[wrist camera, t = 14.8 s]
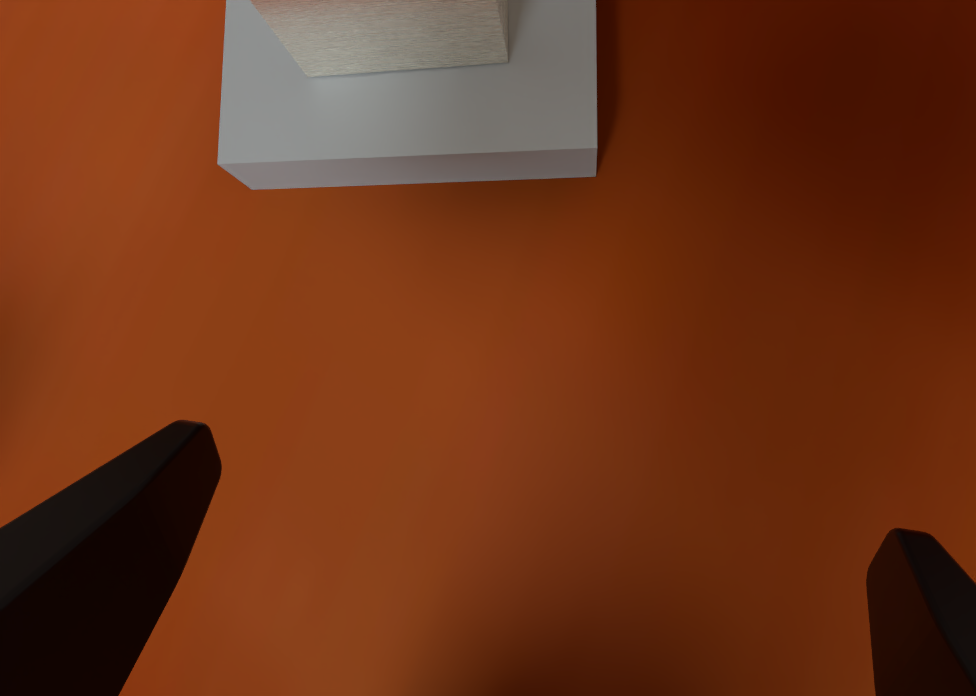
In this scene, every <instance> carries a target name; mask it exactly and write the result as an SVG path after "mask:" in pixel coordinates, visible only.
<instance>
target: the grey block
mask: <svg viewBox="0 0 976 696" xmlns="http://www.w3.org/2000/svg"><path fill="white" fill-rule="evenodd" d="M218 165H219V166H221V167H222V168H223V169H225V170H226V171H227V172H229V173H230V174H232V175H233V176H234V177H236V178H237V179H238V180H240V181H241V182H242V183H244V184H245V185H246V186H248V187H249V188H251V189H252V190H257V189H283V188H310V187H336V186H363V185H389V184H416V183H443V182H469V181H496V180H522V179H549V178H575V177H596V166H597V63H596V0H508V63H495V64H482V65H468V66H454V67H440V68H426V69H413V70H399V71H385V72H371V73H358V74H344V75H330V76H316V77H307V75H306V74H305V73H304V71H303V70H302V69H301V67H300V66H299V65H298V63H297V62H296V61H295V60H294V58H293V57H292V56H291V54H290V53H289V52H288V50H287V49H286V48H285V46H284V45H283V44H282V42H281V41H280V40H279V38H278V37H277V36H276V34H275V33H274V32H273V30H272V29H271V28H270V26H269V25H268V24H267V22H266V21H265V20H264V18H263V17H262V16H261V14H260V13H259V12H258V10H257V9H256V8H255V6H254V5H253V4H252V2H251V1H250V0H226V17H225V36H224V54H223V72H222V91H221V109H220V127H219V146H218Z"/></svg>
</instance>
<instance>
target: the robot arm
mask: <svg viewBox="0 0 976 696" xmlns="http://www.w3.org/2000/svg"><path fill="white" fill-rule="evenodd" d="M221 470H222V466H221V460H220V457H219V454H218V451H217V448H216V444H215V441H214V438H213V435H212V432H211V430H210V428H209V427H208V426H207V425H206V424H205V423H201V422H195V421H188V420H178V421H175V422H173V423H171V424H169V425H168V426H166V427H164V428H163V429H161V430H159V431H158V432H156V433H155V434H153V435H151V436H150V437H148V438H146V439H145V440H143V441H141V442H140V443H138V444H137V445H135V446H133V447H132V448H130V449H128V450H127V451H125V452H124V453H122V454H120V455H119V456H117V457H115V458H114V459H112V460H110V461H109V462H107V463H106V464H104V465H102V466H101V467H99V468H97V469H96V470H94V471H93V472H91V473H89V474H88V475H86V476H84V477H83V478H81V479H80V480H78V481H76V482H75V483H73V484H71V485H70V486H68V487H66V488H65V489H63V490H62V491H60V492H58V493H57V494H55V495H53V496H52V497H50V498H49V499H47V500H45V501H44V502H42V503H40V504H39V505H37V506H35V507H34V508H32V509H31V510H29V511H27V512H26V513H24V514H22V515H21V516H19V517H18V518H16V519H14V520H13V521H11V522H9V523H8V524H6V525H4V526H3V527H1V528H0V696H118V695H119V694H120V692H121V690H122V688H123V686H124V684H125V682H126V680H127V678H128V676H129V675H130V673H131V671H132V669H133V667H134V665H135V663H136V661H137V659H138V657H139V656H140V654H141V652H142V650H143V648H144V646H145V644H146V642H147V640H148V638H149V636H150V635H151V633H152V631H153V629H154V627H155V625H156V623H157V621H158V619H159V617H160V616H161V614H162V612H163V610H164V608H165V606H166V604H167V602H168V600H169V598H170V596H171V595H172V593H173V591H174V589H175V587H176V585H177V583H178V581H179V579H180V577H181V574H182V572H183V570H184V568H185V565H186V563H187V561H188V558H189V556H190V553H191V551H192V548H193V545H194V543H195V540H196V538H197V535H198V533H199V530H200V528H201V525H202V523H203V520H204V518H205V515H206V513H207V510H208V508H209V505H210V502H211V500H212V497H213V495H214V492H215V490H216V487H217V485H218V482H219V479H220V476H221ZM866 586H867V598H868V611H869V623H870V635H871V647H872V659H873V671H874V683H875V693H876V696H976V583H975V582H974V581H973V580H972V579H971V578H970V577H969V575H968V574H967V573H966V572H965V571H964V570H963V569H962V568H961V567H960V565H959V564H958V563H957V562H956V561H955V560H954V559H953V558H952V556H951V555H950V554H949V553H948V552H947V551H946V550H945V549H944V548H943V546H942V545H941V544H940V543H939V542H938V541H937V540H936V539H935V538H934V537H933V536H931V535H930V534H928V533H926V532H921V531H915V530H908V529H902V528H894V529H892V530H891V531H889V533H888V534H887V535H886V537H885V539H884V541H883V542H882V544H881V546H880V548H879V549H878V551H877V553H876V555H875V557H874V558H873V560H872V562H871V564H870V566H869V568H868V572H867V580H866Z"/></svg>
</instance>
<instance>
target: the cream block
mask: <svg viewBox="0 0 976 696" xmlns="http://www.w3.org/2000/svg"><path fill="white" fill-rule="evenodd" d="M250 1H251V2H252V4H253V5H254V6H255V8H256V9H257V10H258V12H259V13H260V14H261V16H262V17H263V18H264V20H265V21H266V22H267V24H268V25H269V26H270V28H271V29H272V30H273V32H274V33H275V34H276V36H277V37H278V38H279V40H280V41H281V42H282V44H283V45H284V46H285V48H286V49H287V50H288V52H289V53H290V54H291V56H292V57H293V58H294V60H295V61H296V62H297V63H298V65H299V66H300V67H301V69H302V70H303V71H304V73H305V74H306V75H307V77H316V76H330V75H344V74H358V73H371V72H385V71H399V70H413V69H426V68H440V67H454V66H468V65H482V64H495V63H508V0H250Z"/></svg>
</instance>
